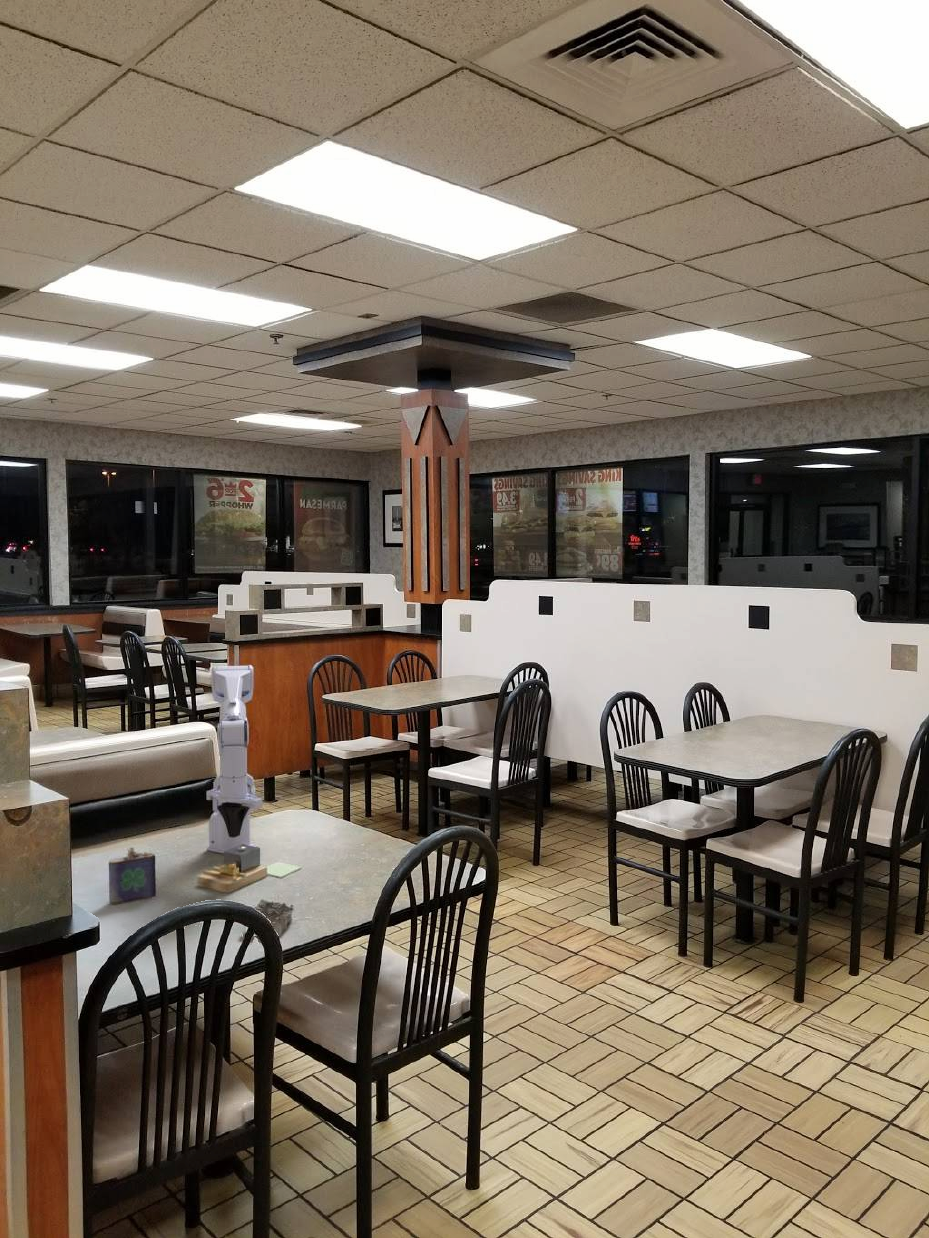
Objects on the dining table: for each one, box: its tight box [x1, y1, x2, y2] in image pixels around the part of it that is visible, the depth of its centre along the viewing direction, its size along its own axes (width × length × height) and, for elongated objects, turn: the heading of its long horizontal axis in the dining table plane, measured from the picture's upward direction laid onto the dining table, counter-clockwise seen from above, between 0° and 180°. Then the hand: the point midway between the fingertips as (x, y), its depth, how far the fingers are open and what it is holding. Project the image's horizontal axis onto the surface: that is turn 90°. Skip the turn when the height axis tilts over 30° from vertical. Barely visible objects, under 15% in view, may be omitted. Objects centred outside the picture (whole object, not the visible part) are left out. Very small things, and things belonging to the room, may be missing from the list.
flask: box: [108, 847, 157, 906], centre depth 194 cm, size 9×3×11 cm, turn 121°
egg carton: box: [253, 898, 295, 939], centre depth 181 cm, size 11×8×4 cm
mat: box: [266, 861, 303, 879], centre depth 212 cm, size 7×7×1 cm
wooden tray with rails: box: [196, 864, 268, 894], centre depth 205 cm, size 9×12×3 cm
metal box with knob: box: [223, 844, 261, 873], centre depth 208 cm, size 5×6×4 cm
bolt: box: [219, 863, 239, 878], centre depth 202 cm, size 4×2×3 cm, turn 60°
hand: (234, 836), depth 206 cm, fingers closed
